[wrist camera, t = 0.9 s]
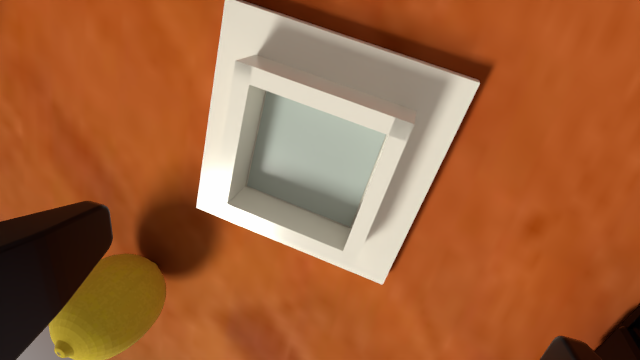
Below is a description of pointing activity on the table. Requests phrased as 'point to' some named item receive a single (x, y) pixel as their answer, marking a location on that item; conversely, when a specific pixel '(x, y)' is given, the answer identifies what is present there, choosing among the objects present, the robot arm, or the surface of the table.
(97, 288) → the lemon
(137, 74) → the table surface
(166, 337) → the table surface
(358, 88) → the mill stand
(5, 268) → the robot arm
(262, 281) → the table surface
